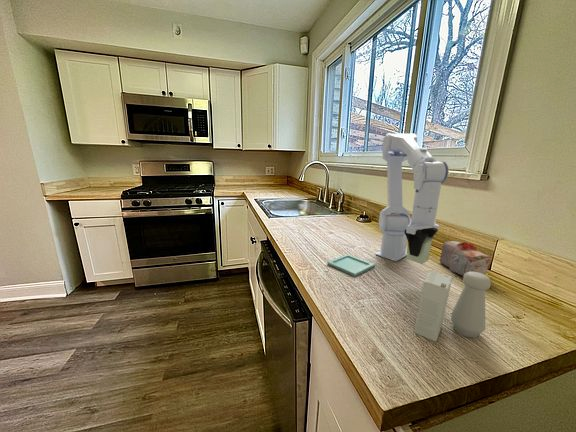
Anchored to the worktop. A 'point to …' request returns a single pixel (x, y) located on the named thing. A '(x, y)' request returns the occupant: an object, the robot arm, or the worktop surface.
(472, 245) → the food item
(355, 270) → the tray
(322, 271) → the worktop surface
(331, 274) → the worktop surface
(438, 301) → the skincare box
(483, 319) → the salt shaker
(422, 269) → the worktop surface
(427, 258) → the tea tin
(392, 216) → the robot arm
